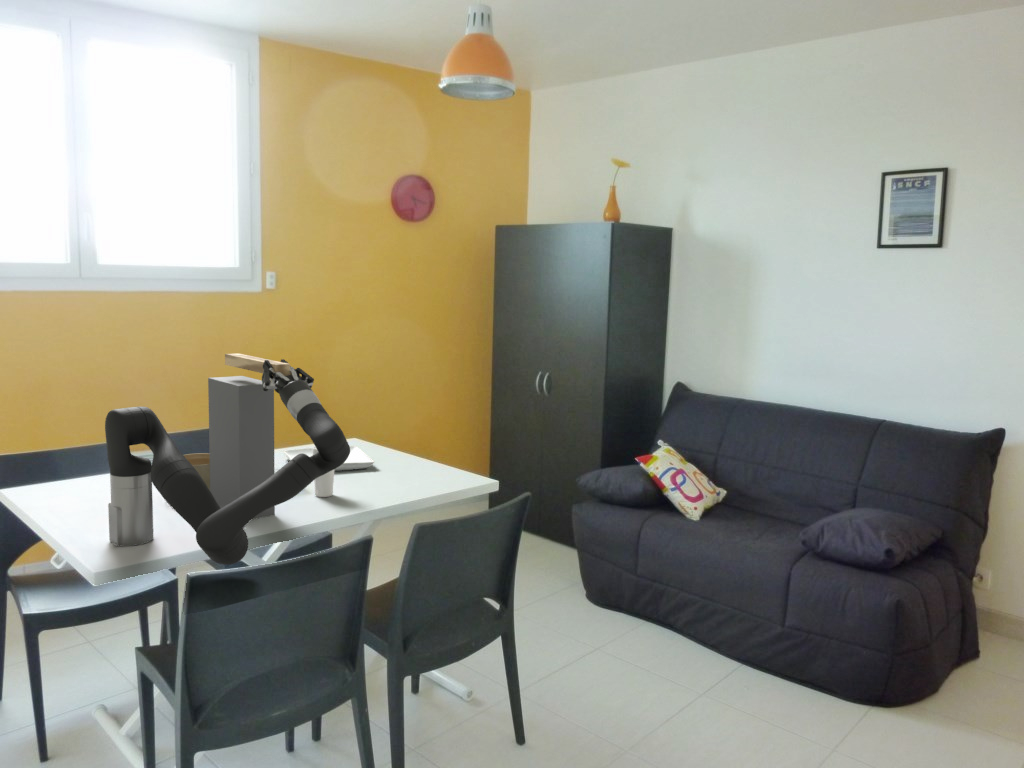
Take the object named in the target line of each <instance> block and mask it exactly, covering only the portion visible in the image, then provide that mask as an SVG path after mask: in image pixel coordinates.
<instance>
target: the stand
mask: <svg viewBox="0 0 1024 768" xmlns="http://www.w3.org/2000/svg"><path fill="white" fill-rule="evenodd" d="M207 385H208V388H207V389H208V396H207V397H208V437H209V438H208V439H209V440H208V442H209V443H208V445H209V447H208V448H209V449H208V450H209V455H210V491H211V493H212V495H213V497H214V498H215V500H216V502H217V503H218V505H219V506H220V508H223V507H225V506H226V505H228V504H230V503H231V502H233V501H234V500H236V499H238V498H239V497H241V496H242V495H244V494H246V493H247V492H249V491H251V490H252V489H254V488H255V487H257V486H258V485H260V484H261V483H263V482H264V481H266V480H267V479H268V478H270V477H271V476H272V475H273V474H275V390H274V389H268V391H264V390H263V385H262V379H261V380H260V379H257V378H252V377H249V376H244V375H233V376H219V377H218V376H217V377H208V379H207ZM275 511H276V506H273V507H271V508H269V509H267V510H265V511H263V512H261V513H260V514H258V515H257V516H255V517H254V518H253V519H252V520H255V519H256V518H257V519H260V518H266V517H272V516H275V515H276V512H275Z"/></svg>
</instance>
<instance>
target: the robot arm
mask: <svg viewBox="0 0 1024 768" xmlns="http://www.w3.org/2000/svg"><path fill="white" fill-rule="evenodd" d="M268 360H269V359H268ZM268 360H265V361H264V363H263V369H264V371H263V373H262V375H261V380H262V385H263V390H264V391H268V389H274V392H275V393H277V394H278V395H279V397H280V400H281V401H282V403H283V405H284V406H285V408H286V409H287V411H288V412H289V413H290V416H291V417H293V419H294V420H295V421H296V422H297V423H298V425H299V426H300V427H301V429H302V431H303V432H304V433H305V434H306V435H307V436H309V439H311V441H312V443H313V445H314V447H315V446H316V448H317V450H318V453H316V454H314V455H313V456H310V457H309V456H307V455H306V454H303V453H301V454H298V455H297V456H295V457H294V458H293V459H292V460H289V461H288V462H287V463H285V464H284V465H283V466H282V467H281V468H280V469H278V470H277V471H276V472H274V474H273V475H272V476H271V477H270V478H268V479H267V480H266V481H264V482H263V483H261V484H260V485H258V486H257V487H255V488H254V489H252V490H251V491H249V492H247V493H246V494H244V495H242V496H241V497H239V498H238V499H236V500H234V501H233V502H231V503H230V504H228V505H226V506H225V507H223V508H220V506H219V505H218V503H217V502H216V500H215V498H214V497H213V495H212V493H211V491H210V490H209V488H208V487H207V485H206V483H205V482H204V480H203V479H202V477H201V476H200V475H199V473H198V472H197V471H196V469H195V468H194V467H193V466H192V465H191V463H190V462H189V461H188V460H187V459H186V458H185V457H184V455H185V454H183V452H181V450H180V449H179V448H178V446H177V445H176V444H175V442H174V441H173V440H172V439H171V437H170V435H169V433H168V432H167V430H166V429H165V427H164V425H163V424H162V422H161V420H160V418H158V416H157V414H156V413H155V412H154V411H153V409H151V408H149V407H147V406H131V407H130V406H129V407H122V408H121V407H120V408H113V409H111V410H110V411H108V412H107V415H106V417H105V421H104V431H105V443H106V454H107V461H108V465H109V476H110V477H109V479H110V480H109V481H110V482H109V483H110V502H108V504H107V507H108V529H109V530H108V533H109V536H108V537H109V541H110V542H111V543H113V545H115V546H116V547H123V546H125V547H126V546H137V545H138V546H139V545H143V544H146V543H149V542H151V541H152V540H153V539H154V508H153V507H154V505H153V486H154V488H155V489H156V490H157V491H158V493H159V494H160V496H161V497H162V498H163V499H164V500H165V501H166V502H167V504H168V505H169V506H170V507H171V508H172V510H174V511H175V513H177V514H178V515H179V516H180V517H181V518H182V519H183V520H184V521H185V522H187V523H188V525H190V527H191V528H192V529H193V530H194V532H195V540H196V542H197V545H198V546H199V547H200V549H201V551H203V552H204V554H205V555H206V556H208V557H209V559H210V560H211V561H213V562H214V563H217V564H219V565H226V566H230V565H234V564H237V563H239V562H241V560H243V558H244V557H245V556H246V555H247V552H248V549H249V537H248V534H247V532H246V530H245V529H244V528H245V526H247V525H248V523H250V522H251V521H252V520H254V519H253V518H254V517H255V516H257V515H258V514H260V513H261V512H263V511H265V510H267V509H269V508H271V507H273V506H275V507H276V506H278V505H281V504H284V503H286V502H288V501H290V500H291V499H293V498H294V497H296V496H297V495H298V494H300V493H301V492H302V491H303V490H305V489H306V488H307V487H308V486H309V485H310V484H312V483H313V482H314V480H315V479H316V478H318V477H320V476H322V475H324V474H326V473H328V472H330V471H332V470H334V469H336V468H337V467H339V466H341V465H342V464H343V463H344V462H345V461H346V460H347V458H348V456H349V454H350V446H351V445H350V444H349V442H348V440H347V439H346V435H345V434H344V432H343V430H342V429H341V427H340V426H339V425H338V423H337V422H336V421H335V420H334V419H333V418H332V417H331V416H330V415H329V412H327V410H326V409H325V408H324V406H323V405H322V403H321V401H320V399H319V397H318V396H317V394H316V393H315V392H314V391H313V389H312V387H313V384H314V381H315V378H314V377H312V376H311V375H309V373H307V372H306V371H304V370H303V369H302V368H300V367H296V368H294V366H291V365H290V375H288V376H284V375H283V374H282V373H280V372H277V371H275V369H273V367H272V365H271V364H270V362H269V361H268ZM280 362H283V363H288V364H290V363H289V362H288V361H287V360H285V359H283V358H281V359H280ZM273 375H274V376H273ZM142 444H143V445H145V446H147V447H148V448H149V450H150V451H151V452H152V454H153V456H152V460H151V459H149V458H147V457H143V456H137V455H133V453H132V452H131V448H130V446H137V445H142Z"/></svg>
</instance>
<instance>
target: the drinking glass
mask: <svg viewBox="0 0 1024 768" xmlns="http://www.w3.org/2000/svg"><path fill="white" fill-rule="evenodd" d="M312 448H313V455H314V454H316V453H318V450H317V448H316V446H315V445H314V446H313V447H312ZM335 472H336V471H335V469H334V470H332V471H330V472H328V473H326V474H324V475H322V476H320V477H318V478H316V479H315V480H314V481H313V482H314V496H315V497H318V498H329V497H332V496H333V495H334V482H335Z"/></svg>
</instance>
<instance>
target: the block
mask: <svg viewBox="0 0 1024 768" xmlns="http://www.w3.org/2000/svg"><path fill="white" fill-rule="evenodd" d="M265 360H268V361H269V362H270V364H271V365H272V367H273V369H275V371H277V372H280V373H282V374H283V375H284V376H288V375H290V366H291V364H290V363H289V362H288V363H289V364H288V363H283V362H281V361H277V360H273V359H266V358H262V357H258V356H252V355H249V354H243V353H225V354H224V365H225V366H229V367H234V368H237V369H242V370H247V371H251V372H255V373H259V374H263V371H264V369H263V363H264V361H265ZM273 376H274V375H273Z"/></svg>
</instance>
